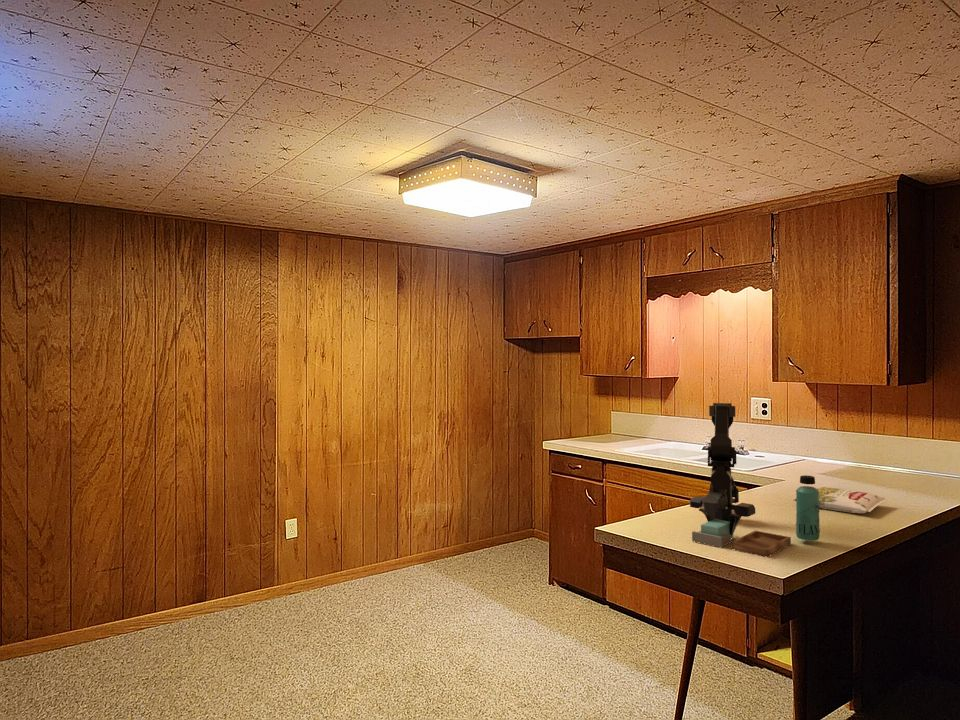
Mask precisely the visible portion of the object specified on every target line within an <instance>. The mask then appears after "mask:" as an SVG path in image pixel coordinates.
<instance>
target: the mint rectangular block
mask: <svg viewBox="0 0 960 720" xmlns="http://www.w3.org/2000/svg"><path fill="white" fill-rule="evenodd" d="M700 531H701V533H705V534H710V535H715V536H720V537H722V536H724V535H726V534H730V522H729V521H724V520H718V519H714V520H711V521H709V522H708V521H707V522H704V523H701V524H700ZM731 538H732V539H733V535H732V536H731Z"/></svg>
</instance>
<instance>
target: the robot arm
mask: <svg viewBox="0 0 960 720" xmlns="http://www.w3.org/2000/svg"><path fill="white" fill-rule="evenodd" d="M708 413H709V414H708V416H709V417H711V422H712V424H713V426H714V435H713V437H711V438H710V443H709V444H710V445H708V446H707V467H711V475H710V484H709V490H708V493H707V494H706V495H705V496H703V495H697V496H694V497H691V498H690V501H689V507H690V508H694V509H698V511H699V512H701V513H702V514H703V515H704V516H705V518H706V521H707V522H709V521H711V520H714V519H718V520H724V521H729V522H730V534H731V536H732V537H733V535H734V533H735V530H736V528H737V526H738V524H739V522H740V521H741V518H742V517H745V518H749V517H751V516H753V515H755V514H756V507H755V505H754V504H751V503H746V502H741V503H739V501H740V500H739V498H740V496H739V495H740V494H739V491H740V490H739V489H738V487H737V485H736V484H735V478H733V476H732V468H733V469H735V465H737V450H736V448H735V446H733V443H732V442H733V440H732V439H731V437H730V428H731V426H732V425H733V423H734V418H736V416H737V415H736V413H737V412H736V405H732V402H724V403H723V402H713V403H712V405H708ZM737 503H738V504H737Z"/></svg>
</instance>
